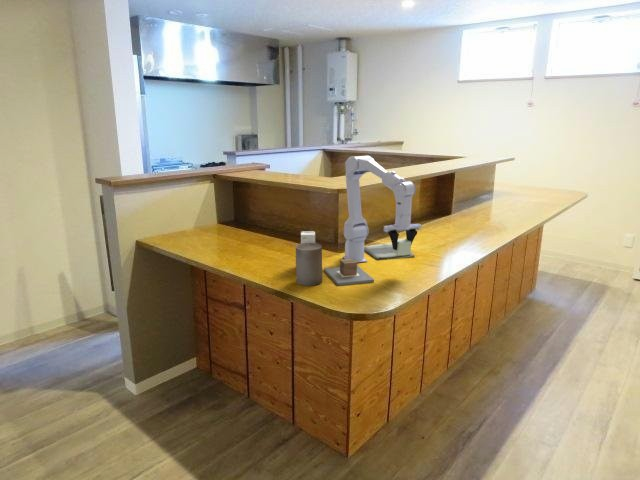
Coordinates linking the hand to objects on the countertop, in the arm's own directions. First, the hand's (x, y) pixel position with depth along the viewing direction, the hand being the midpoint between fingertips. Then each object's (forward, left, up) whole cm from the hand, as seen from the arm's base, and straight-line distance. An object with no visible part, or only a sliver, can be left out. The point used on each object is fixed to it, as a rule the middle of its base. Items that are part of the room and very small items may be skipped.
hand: (401, 249), depth 172 cm
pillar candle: (-2, -36, -11) cm, 38 cm away
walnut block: (-4, -20, -9) cm, 22 cm away
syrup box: (-19, -32, -11) cm, 39 cm away
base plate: (-4, -20, -10) cm, 23 cm away
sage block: (0, 0, -2) cm, 2 cm away
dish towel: (-29, +8, -11) cm, 32 cm away
